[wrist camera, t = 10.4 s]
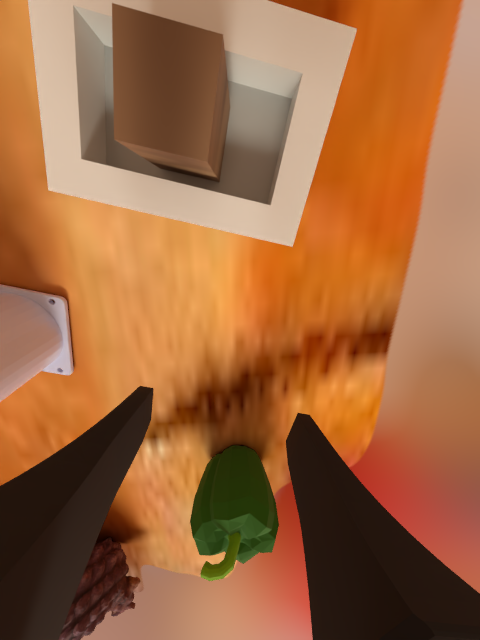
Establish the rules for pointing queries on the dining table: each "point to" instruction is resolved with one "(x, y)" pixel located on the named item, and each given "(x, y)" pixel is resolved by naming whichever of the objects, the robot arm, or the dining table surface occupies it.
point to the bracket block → (170, 92)
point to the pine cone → (100, 591)
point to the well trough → (244, 119)
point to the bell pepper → (233, 510)
